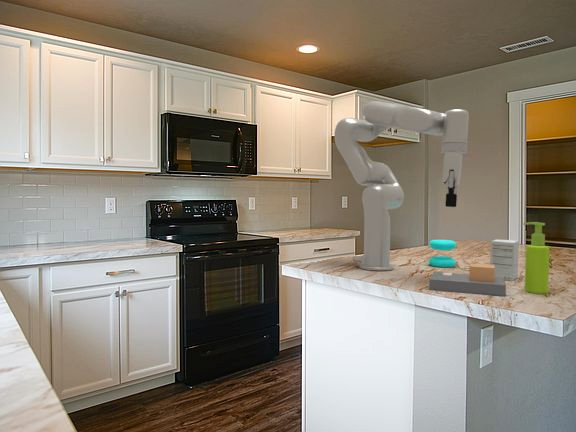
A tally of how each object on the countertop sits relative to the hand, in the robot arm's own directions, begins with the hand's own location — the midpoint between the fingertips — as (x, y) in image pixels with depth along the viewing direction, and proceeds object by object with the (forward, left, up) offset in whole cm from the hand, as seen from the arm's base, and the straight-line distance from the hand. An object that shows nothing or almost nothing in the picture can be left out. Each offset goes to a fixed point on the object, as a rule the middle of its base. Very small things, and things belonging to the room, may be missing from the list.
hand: (450, 206), depth 143 cm
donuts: (-4, +31, -24) cm, 39 cm away
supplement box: (+17, +13, -24) cm, 32 cm away
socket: (+6, -11, -24) cm, 27 cm away
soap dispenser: (+24, -7, -24) cm, 35 cm away
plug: (+10, -11, -24) cm, 28 cm away
